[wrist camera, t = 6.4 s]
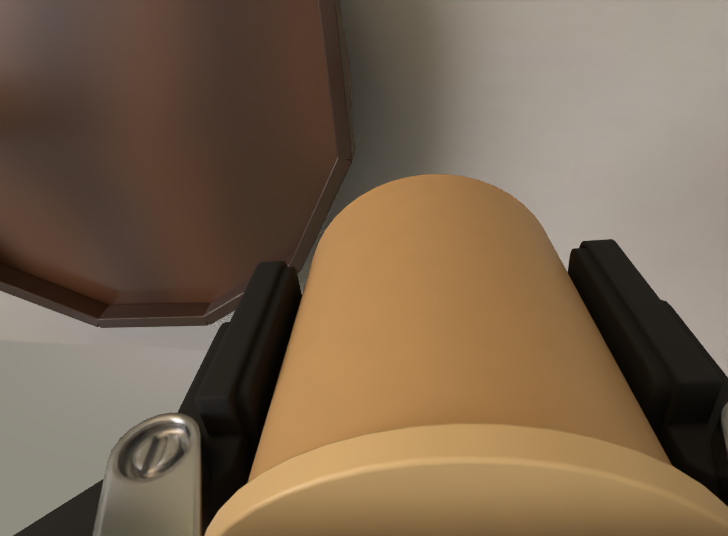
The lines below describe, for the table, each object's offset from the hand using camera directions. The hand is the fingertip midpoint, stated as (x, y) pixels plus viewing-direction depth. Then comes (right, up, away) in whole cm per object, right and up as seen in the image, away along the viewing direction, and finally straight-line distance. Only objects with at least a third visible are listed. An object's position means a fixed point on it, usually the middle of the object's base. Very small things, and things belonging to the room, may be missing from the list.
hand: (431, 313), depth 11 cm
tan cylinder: (0, 0, +1) cm, 1 cm away
